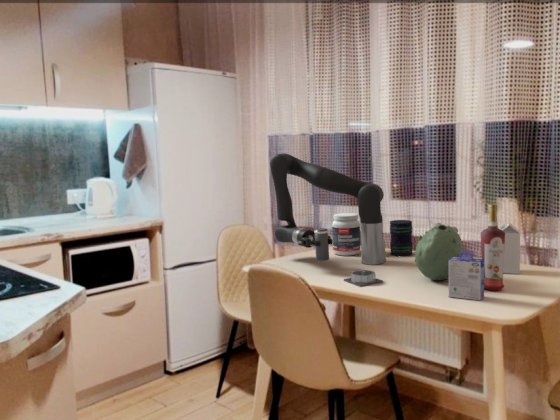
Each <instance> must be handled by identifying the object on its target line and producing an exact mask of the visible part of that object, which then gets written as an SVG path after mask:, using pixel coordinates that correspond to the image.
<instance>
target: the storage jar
mask: <svg viewBox="0 0 560 420" xmlns="http://www.w3.org/2000/svg"><path fill="white" fill-rule="evenodd" d="M389 224H390V225H389V234H390V243H389V246H390V247H389V249H390V255H391V256H393V257H399V256H400V257H410V256H413V249H414V248H413V247H414V246H413V240H412V238H413V235H412V234H413V221H412V220H408V219H396V220H390V221H389Z"/></svg>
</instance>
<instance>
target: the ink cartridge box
mask: <svg viewBox="0 0 560 420" xmlns="http://www.w3.org/2000/svg"><path fill="white" fill-rule="evenodd" d="M465 254H469V255H465ZM473 255H474V252H473V250H463V251H462V250H461V255H460V258H459V257H452V258H451V259H450V260H449V278H448V298H457V299H466V300H475V301H482V300H483V298H484V297H485V288H484V259H482V258H479V257H478V258H475V257H474V256H473Z"/></svg>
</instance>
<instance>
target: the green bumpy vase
mask: <svg viewBox="0 0 560 420" xmlns="http://www.w3.org/2000/svg"><path fill="white" fill-rule="evenodd" d="M458 232H459V229H458V227H456V226H450V225H445V224H442V223H441V222H437V223H434V226H433V227H431V228H430V229H429V230H426V231H425V233H424V234H423V235H419V236H418V238H417V241H418V242H417V244H416V246H415V252H414V262H415V265H416V267H417V269H418V270H419V271H420V273H421V274H422V275H423V276H424V277H426V278H428V279H430V280H432V281H444V280H449V260H450V259H451V258H452V257H459V258H460V255H461V250H462V251H464V250H463V246H462V238H461V236H460V234H459V233H458Z"/></svg>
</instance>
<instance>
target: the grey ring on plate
mask: <svg viewBox="0 0 560 420" xmlns="http://www.w3.org/2000/svg"><path fill="white" fill-rule="evenodd" d="M343 281H344V282H347V283H349V284H352V285H354V286H357V287H366V286H370V285H376V284H380V283H383V282H384V281H383V280H382V279H379V278H376V272H375V271H373V270H369V269H358V270H357V269H356V270H353V271H351V272H350V277H347V278H344V279H343Z"/></svg>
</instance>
